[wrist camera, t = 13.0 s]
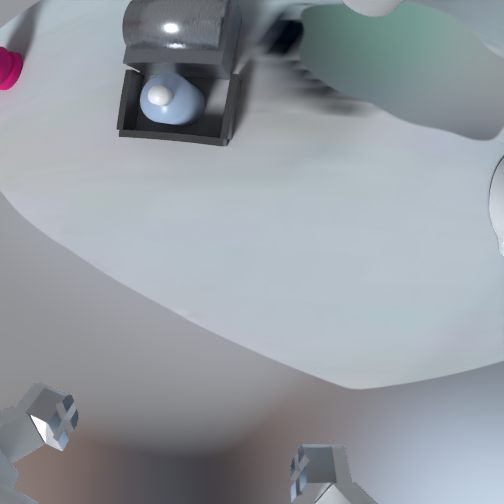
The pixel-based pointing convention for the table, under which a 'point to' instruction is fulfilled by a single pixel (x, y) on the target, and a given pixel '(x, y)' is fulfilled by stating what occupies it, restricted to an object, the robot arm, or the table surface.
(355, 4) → the pill bottle
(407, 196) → the table surface
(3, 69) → the pepper mill
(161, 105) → the light blue bottle
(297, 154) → the table surface
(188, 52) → the dark grey piece
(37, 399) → the robot arm
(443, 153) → the table surface
